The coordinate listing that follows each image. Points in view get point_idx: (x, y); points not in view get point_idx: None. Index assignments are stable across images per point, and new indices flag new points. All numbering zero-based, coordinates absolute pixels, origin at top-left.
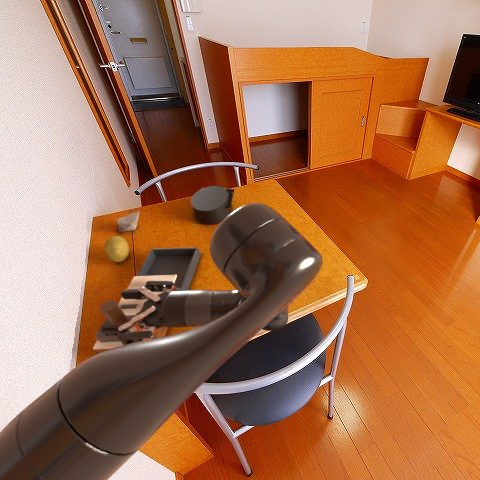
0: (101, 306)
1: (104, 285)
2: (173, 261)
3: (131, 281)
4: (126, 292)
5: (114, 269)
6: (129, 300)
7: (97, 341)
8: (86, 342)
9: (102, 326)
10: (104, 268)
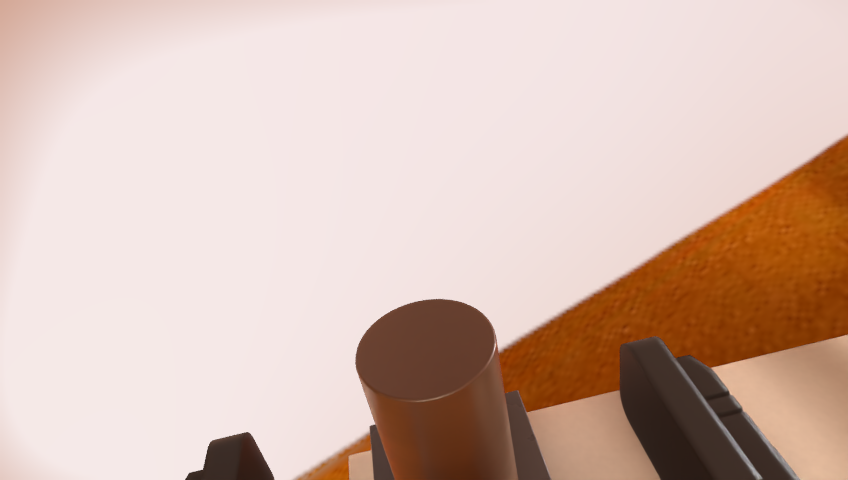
0: (412, 307)
1: (745, 266)
2: None
3: (843, 337)
4: (656, 381)
5: (845, 240)
6: None
7: None
8: None
9: (226, 448)
10: (816, 212)
